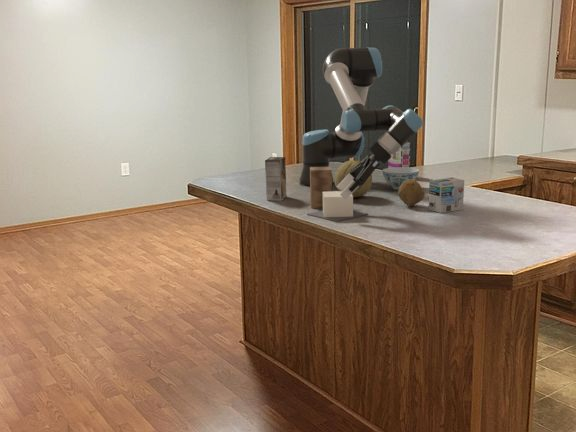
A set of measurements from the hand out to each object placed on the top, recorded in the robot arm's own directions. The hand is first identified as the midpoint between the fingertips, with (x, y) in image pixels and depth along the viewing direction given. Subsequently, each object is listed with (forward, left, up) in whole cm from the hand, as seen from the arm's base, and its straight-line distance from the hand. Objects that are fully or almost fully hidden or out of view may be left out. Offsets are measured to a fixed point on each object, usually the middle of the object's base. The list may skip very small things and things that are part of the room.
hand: (340, 193), depth 212 cm
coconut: (-27, +8, -8) cm, 30 cm away
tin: (-5, -16, -8) cm, 19 cm away
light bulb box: (-31, +21, -8) cm, 38 cm away
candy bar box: (-72, -36, -8) cm, 81 cm away
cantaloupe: (-24, -18, -8) cm, 31 cm away
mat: (+1, -1, -8) cm, 8 cm away
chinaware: (-51, -17, -8) cm, 55 cm away
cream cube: (+1, -1, -7) cm, 7 cm away
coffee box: (-2, -39, -8) cm, 40 cm away
